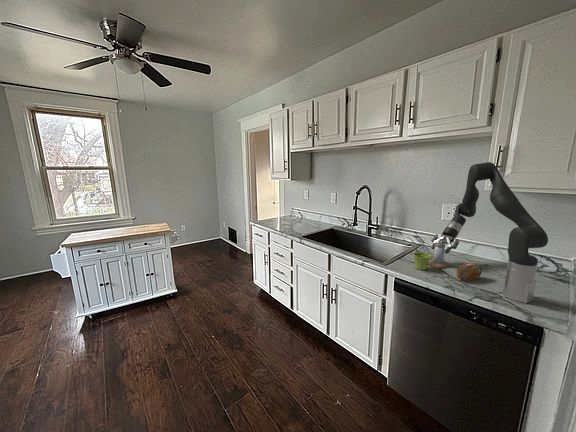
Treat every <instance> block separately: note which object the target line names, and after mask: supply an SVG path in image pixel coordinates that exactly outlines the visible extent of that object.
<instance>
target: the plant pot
mask: <svg viewBox="0 0 576 432" xmlns="http://www.w3.org/2000/svg"><path fill="white" fill-rule="evenodd" d="M412 255H413V260H414V268H415V269H417V270H420V271H425V270H427V268H428V266H429V265H428V261H429V260H430V259H431V257H432V256H431V255H430V254H429V253H426V252H421V251H420V252H419V251H415V252H413V253H412Z"/></svg>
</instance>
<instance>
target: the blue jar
mask: <svg viewBox="0 0 576 432" xmlns="http://www.w3.org/2000/svg"><path fill="white" fill-rule="evenodd" d="M445 248H446V244H444V243H437V242H436V243H435V248H434V253H433V259H434V263H436V264H443V262H444V261H445V260H444V259H445V250H446V249H445Z"/></svg>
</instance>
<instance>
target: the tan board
mask: <svg viewBox="0 0 576 432" xmlns="http://www.w3.org/2000/svg"><path fill="white" fill-rule="evenodd" d="M427 266H429V267H432V268H435V269H438V270H442V269H446V268H448V267H451V266H453V263H452V262H449V261H445V260H444V262H443V264H436V263H434V258H432V259H429V261H428V265H427Z"/></svg>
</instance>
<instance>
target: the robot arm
mask: <svg viewBox="0 0 576 432" xmlns="http://www.w3.org/2000/svg"><path fill="white" fill-rule="evenodd" d="M494 164H495V163H494ZM494 164H493V162H492V163H491V161H487V162H481V163H476V164H472V165H471V166H470V168H469V169H468V174H467V180H466V186H465V187H466V188H465V193H464V195H463V198H462V201H461V203H458V204H457V205H456V207H455V210H454V211H455V212H454V214H453V217H452V218H451V220H450V222H449V223H448V224H447V225H446V227H445V228H444V230H443V231H442V233H441V235H439V234H438V233H437V234H435V235H434V237H432V239H431V242H432V245H431V247H430V248H431V250H434V251H435V243H443V244H445V245H448V246H447V247H446V249H445V251H444V254H449V253H450V252H451V250H453V249H454V250H456V249H457V248H458V246H459V244H460V240H459V239H458V237H457V236H458V235H459V233H460V232H461V231H462V230H463V229H462V228H463V227H464V225H465V224H466V222H467V219H466V217H467V218H472V217H474V216H475V215H476V213H477V201H478V200H479V197H480V191H479V190H478V189H479V188H477V186H476V184H477V182H479V181H487V180H488V179H490V180H489V182H490V183H491V186H492V187H491V191H490V194H489V200H490V202H491V204H492V206H493V208H494V210H496V211H497V212H498V213H499V214H501V215H502V216H504V217H505V218H507V219H509V220H510V221H512V222H513V223H514V224H515V225H517V227H515V228H513V229H512V230H510V233H509V236H508V246H507V254H508V260H507V268H506V274H505V280H504V281H505V282H504V286H503V287H504V288H503V294H502V295H503V296H504V297H505V298H507V299H510V300H512V301H515V302H520V303H524V304H528V303H531V302H533V300H534V295H535V291H536V284H537V280H535V278H536V274H537V269H538V262H539V259H538V258H537V257H536V256H534V255H532V254H529V249H539V248H541V249H542V248H544V247H546V246H547V245H548V243H549V238H548V234H547V233H546V231H545V230H544V228H543V227H541V225H540V224H539V223H538V222H537V220H535V219H534V218H533V217H532V216H531V215H530V213H529V211H527V209H526V208H525V207H524V206H523V204H522V203H521V202H520V200H519V199H518V197H517V196H516V195H515V193H514V192H513V191H512V189H511V187H509V185H508V184H507V182H506V181H505V180H504V178H503V176H502V173H501V171H500V170H499V169H498V167H497V166H495V165H494ZM452 243H453V244H452Z"/></svg>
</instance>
